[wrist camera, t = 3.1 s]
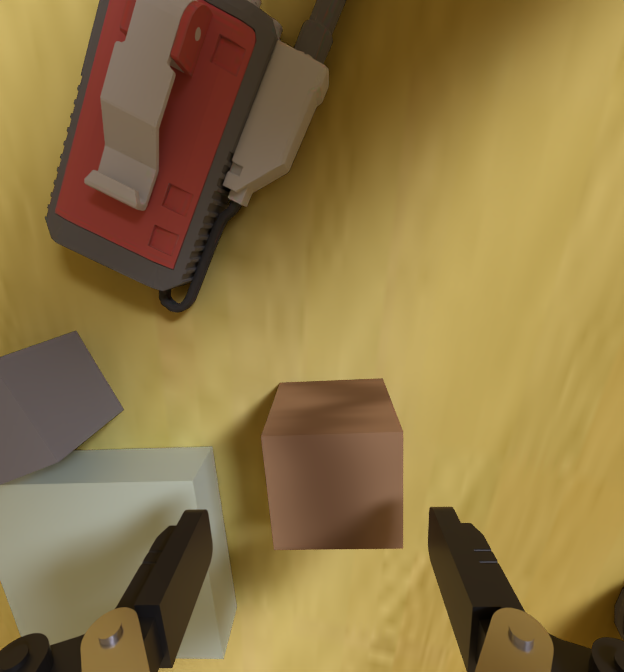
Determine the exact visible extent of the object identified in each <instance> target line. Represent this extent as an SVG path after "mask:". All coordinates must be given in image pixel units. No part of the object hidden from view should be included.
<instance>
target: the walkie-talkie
mask: <svg viewBox="0 0 624 672" xmlns="http://www.w3.org/2000/svg"><path fill="white" fill-rule="evenodd" d="M345 2H346V0H317V1H316V4H315V6H314V9H313V11H312V14H311V16H310V19H309V20H306V21H305V22H304V23H303V26H302V28H301V31H300V34H299V36H298V39H297V41H296V44H295V46H294V48H292V47H291V46H289V45H287V44H285V43H283V42H281V40H280V36H281V33H282V31H283V28H282V26H281V25H280V23H279V22H278V21H276V20H275V19H274V18H272V17H270V16H269V15H267V14H266V13H265V12H263V11H262V10H261V9H260V5H261V1H260V0H100V1H99V5H98V9H97V13H96V17H95V21H94V24H93V28H92V32H91V36H90V40H89V44H88V48H87V52H86V56H85V60H84V64H83V68H82V72H81V75H82V79H81V83H80V85H78V88H77V89H78V95H77V99H75V100H74V104H75V107H74V111H73V113H71V116H70V118H71V123H70V127H68V128H67V132H68V135H67V138H66V141H64V144H63V145H64V150H63V154H61V156H60V158H61V162H60V166H59V167H58V168H57V172H58V174H57V178H56V180H54V185H55V186H54V190H53V192H51V197H52V198H51V202H50V204H48V207H47V208H48V213H47V217H46V216H45V220H46V223H47V226H48V229H49V232H50V235H51V238H52V239H53V240H54V241H55V242H56V243H58V244H60V245H62V246H64V247H66V248H68V249H70V250H73V251H75V252H77V253H79V254H81V255H83V256H85V257H87V258H89V259H92V260H94V261H96V262H98V263H100V264H102V265H104V266H106V267H108V268H111V269H113V270H115V271H117V272H119V273H121V274H123V275H125V276H127V277H129V278H132V279H134V280H136V281H138V282H140V283H142V284H144V285H146V286H149V287H151V288H154V289H157V290H159V299H160V301H161V304H162V305H163V306H165V307H166V308H167V309H168V310H170V311H172V312H182V311H184V310H186V309H188V308H189V307H190V306H191V305H192V304H193V302H194V301H195V300H196V297H197V295H198V292H199V290H200V287H201V285H202V282H203V279H204V277H205V274H206V272H207V269H208V267H209V264H210V262H211V259H212V257H213V254H214V251H215V249H216V246H217V244H218V241H219V239H220V236H221V234H222V232H223V229H224V227H225V225H226V224H227V222H228V221H229V219H231V218H232V217H233V216H234V215H236V213H237V212H238V211H239V209H240V208H241V205H243V206H245V207H247V205H248V203H249V200H250V198H251V196H252V193H254V192H256V191H257V190H259V189H261V188H263V187H264V186H266V185H268V184H269V183H271V182H273V181H275V180H276V179H278V178H280V177H281V176H283V175H285V174H286V173H288V172H289V170H290V168H291V166H292V163H293V161H294V159H295V156H296V154H297V152H298V149H299V147H300V145H301V142H302V140H303V138H304V135H305V133H306V131H307V128H308V126H309V124H310V121H311V119H312V117H313V114H314V112H315V110H316V107H317V106H318V105H320V104H321V103H322V102H323V100H324V97H325V95H326V92H327V90H328V87H329V69H328V68H327V67H326V66H325V65H324V61H325V59H326V57H327V54H328V52H329V50H330V48H331V45H332V43H333V38H332V34H333V31H334V29H335V26H336V24H337V21H338V19H339V17H340V14H341V12H342V9H343V7H344V5H345ZM229 199H231V202H230V204H229V205H228V204H227V203H228V201H229ZM228 206H229V207H228ZM225 208H226V209H225ZM190 282H191V284H190V287H189V289H188V292H187V295H186V297H185V299H184V300H183V301H182V302H181V303H177V302H176V301H174V300H173V299H172V297H171V289H172V288H175V287H178V286H182V285H185V284H187V283H190Z"/></svg>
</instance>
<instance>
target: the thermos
mask: <svg viewBox="0 0 624 672" xmlns="http://www.w3.org/2000/svg"><path fill="white" fill-rule="evenodd" d="M615 625H616V627H617V629H618V631H619V633H620V635H621V637H622V639H623V640H624V588H623V589H622V591H621V593H620V596H619V598H618V600H617V602H616V605H615Z"/></svg>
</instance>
